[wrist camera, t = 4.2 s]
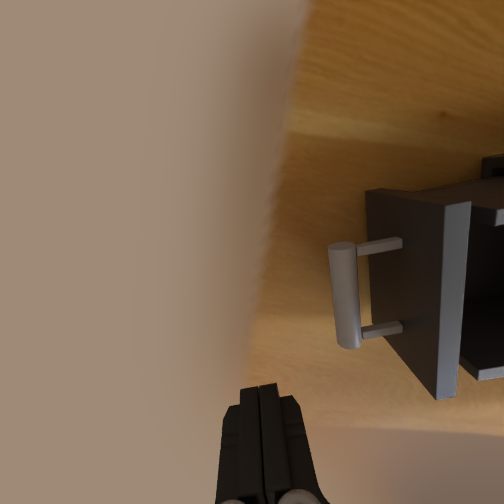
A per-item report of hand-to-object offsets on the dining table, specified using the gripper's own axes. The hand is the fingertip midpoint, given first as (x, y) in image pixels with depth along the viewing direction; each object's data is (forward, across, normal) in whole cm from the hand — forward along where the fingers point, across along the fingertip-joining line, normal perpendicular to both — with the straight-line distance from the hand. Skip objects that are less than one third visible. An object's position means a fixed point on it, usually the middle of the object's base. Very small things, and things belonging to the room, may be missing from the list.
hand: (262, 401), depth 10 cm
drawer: (+11, -14, 0) cm, 18 cm away
